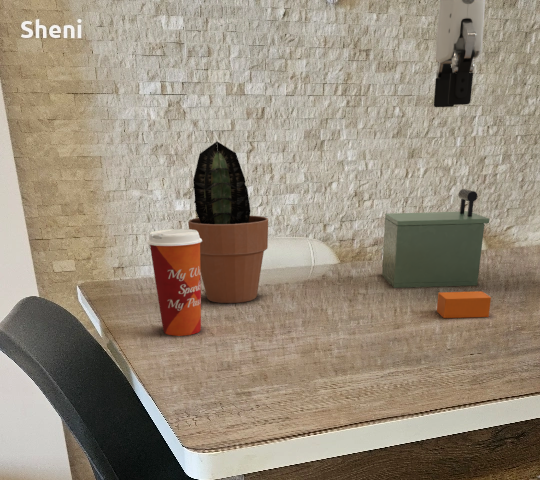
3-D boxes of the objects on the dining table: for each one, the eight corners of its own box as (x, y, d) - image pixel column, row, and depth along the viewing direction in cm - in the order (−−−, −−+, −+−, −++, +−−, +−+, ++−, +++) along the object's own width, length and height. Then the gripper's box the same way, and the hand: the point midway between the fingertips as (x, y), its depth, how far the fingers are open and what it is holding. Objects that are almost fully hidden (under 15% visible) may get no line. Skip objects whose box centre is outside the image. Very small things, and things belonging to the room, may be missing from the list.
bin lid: (468, 215, 130) (471, 187, 127) (489, 223, 118) (493, 192, 116) (385, 218, 129) (386, 189, 127) (397, 225, 118) (399, 194, 116)
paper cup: (180, 340, 95) (171, 237, 88) (145, 332, 99) (135, 233, 93) (219, 329, 100) (213, 230, 93) (184, 321, 104) (176, 227, 98)
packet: (479, 310, 107) (482, 291, 105) (488, 317, 103) (491, 297, 101) (436, 311, 107) (438, 292, 105) (443, 318, 103) (445, 298, 101)
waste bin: (458, 273, 135) (464, 216, 130) (477, 285, 123) (484, 223, 118) (381, 275, 134) (384, 218, 129) (393, 287, 123) (397, 226, 118)
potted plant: (284, 300, 116) (282, 139, 105) (213, 310, 111) (203, 142, 99) (248, 287, 127) (243, 140, 115) (181, 295, 121) (169, 142, 110)
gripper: (508, -48, 87) (491, 102, 95) (473, -21, 102) (461, 107, 110) (450, -46, 87) (438, 104, 95) (424, -19, 102) (416, 108, 110)
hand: (451, 105), depth 102 cm, fingers open, 9 cm apart
